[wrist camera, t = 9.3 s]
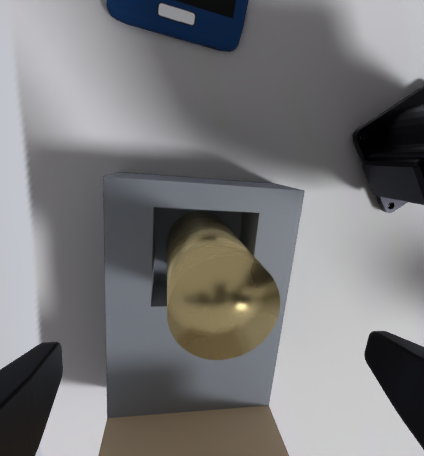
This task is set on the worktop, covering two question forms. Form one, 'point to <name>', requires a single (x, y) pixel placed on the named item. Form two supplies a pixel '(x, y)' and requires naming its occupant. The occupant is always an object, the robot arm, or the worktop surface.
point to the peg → (216, 290)
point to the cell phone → (186, 19)
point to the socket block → (159, 330)
